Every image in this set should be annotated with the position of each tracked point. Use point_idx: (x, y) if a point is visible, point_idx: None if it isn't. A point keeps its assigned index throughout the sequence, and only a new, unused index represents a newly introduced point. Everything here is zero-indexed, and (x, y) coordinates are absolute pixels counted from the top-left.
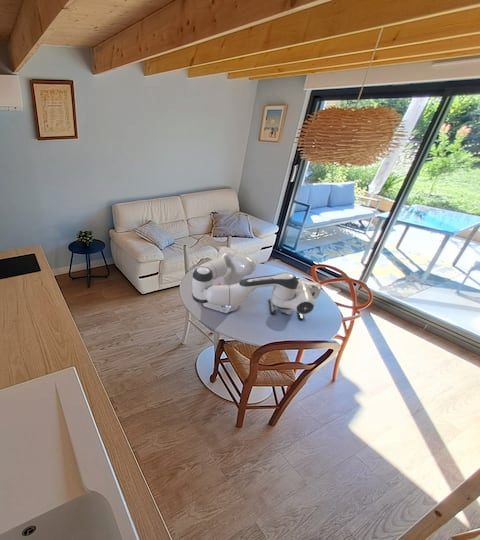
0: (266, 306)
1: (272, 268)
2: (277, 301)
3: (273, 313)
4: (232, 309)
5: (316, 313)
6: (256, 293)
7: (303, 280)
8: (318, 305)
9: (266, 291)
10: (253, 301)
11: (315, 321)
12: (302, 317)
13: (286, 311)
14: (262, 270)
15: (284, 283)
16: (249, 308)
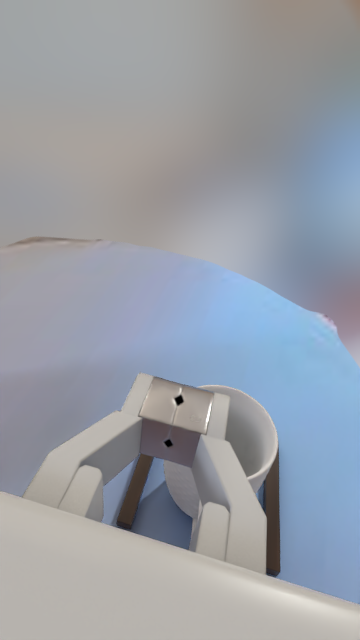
0: None
1: (227, 270)
2: None
3: (126, 526)
4: None
5: (348, 503)
6: (119, 371)
7: (268, 617)
8: (356, 441)
9: (166, 360)
10: (75, 422)
11: (343, 585)
12: (277, 562)
13: (195, 520)
14: (194, 275)
15: None
16: (16, 480)
